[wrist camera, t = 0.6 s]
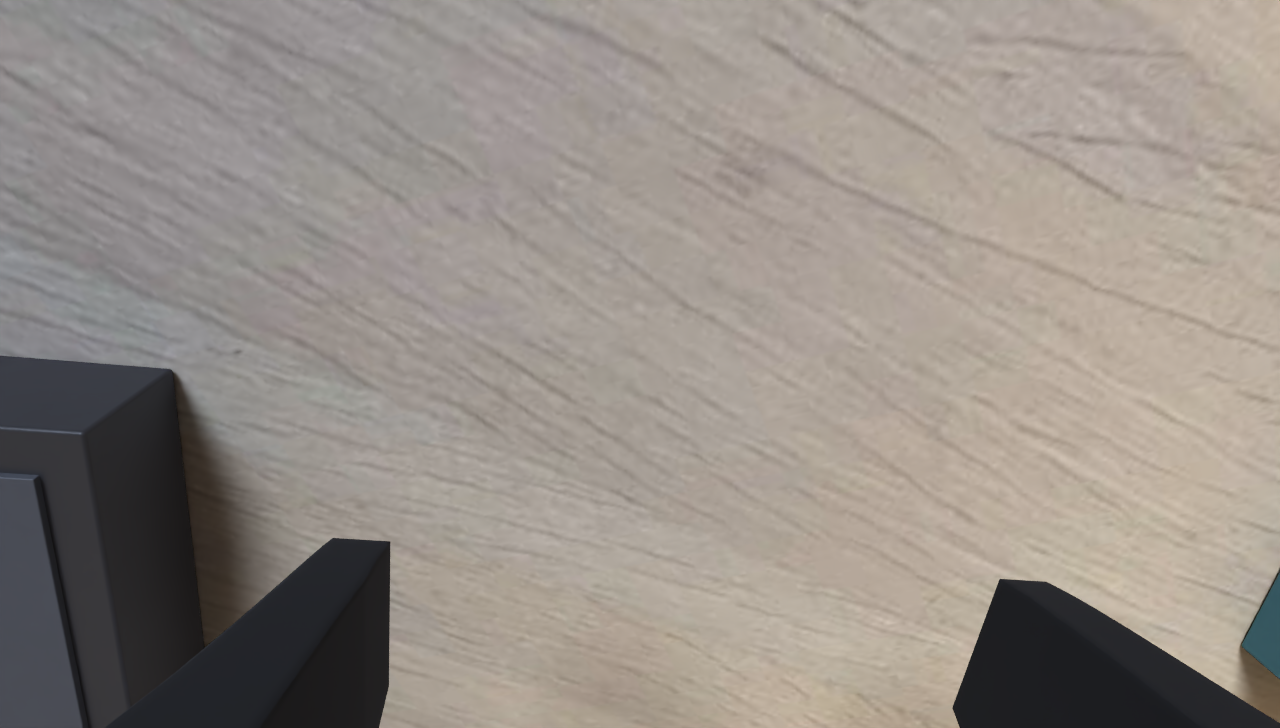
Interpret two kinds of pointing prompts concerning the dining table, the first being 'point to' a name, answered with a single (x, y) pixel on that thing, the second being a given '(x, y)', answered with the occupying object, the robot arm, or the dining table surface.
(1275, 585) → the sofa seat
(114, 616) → the remote
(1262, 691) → the dining table surface
